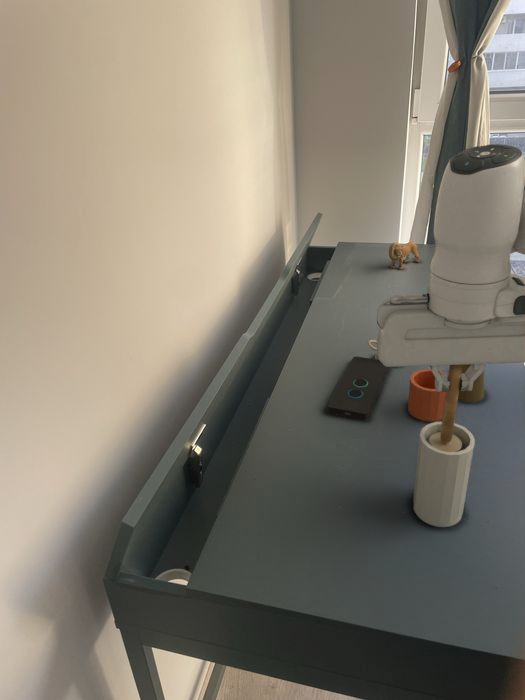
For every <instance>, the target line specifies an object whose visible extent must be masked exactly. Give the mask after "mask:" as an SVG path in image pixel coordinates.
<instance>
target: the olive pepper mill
mask: <svg viewBox="0 0 525 700" xmlns="http://www.w3.org/2000/svg"><path fill="white" fill-rule="evenodd" d="M470 366H471V364H465V365H463V367H462V374H463V373H465V372H466V371H467V370H468V368H469V367H470ZM484 398H485V370H484V371H483V372H482V373H481V374H480V375H479V377H478V378H477V379H476V380H475V381H474V382H473V388H472V391H460V390H459V395H458V401H461V402H465V403H478V402H480V401H482V400H483V399H484Z"/></svg>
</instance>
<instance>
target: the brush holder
mask: <svg viewBox="0 0 525 700" xmlns="http://www.w3.org/2000/svg"><path fill="white" fill-rule="evenodd" d="M439 372H440V374H447V373H446V372H443V371H439ZM408 386H409V388H408V400H407V410H408V412H409V414H410V415H411V416H412V417H413V418H415V419H417V420H419V421H423V422H431V423H433V422H440V421H442V419H443V411H444V403H445V395H446V391H443V392H441V391H440V392H437V390H436V388H435V376H434V374H433V373H432V371H431V368H423V369H419V370H416V371H414V372H413V373H412V374H411V375H410V377H409V385H408Z"/></svg>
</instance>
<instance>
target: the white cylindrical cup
mask: <svg viewBox="0 0 525 700" xmlns="http://www.w3.org/2000/svg"><path fill="white" fill-rule="evenodd" d="M441 426H442V421H433V422H431V423H427V424H426V425H425V426H423V427H422V428H421V430H420V433H419V439H418V450H417V459H416V460H417V461H416V470H415V471H416V472H415V481H414V491H413V498H412V499H413V500H412V501H413V503H412V505H413V511H414V513H415V514H416V516H417V517H418V518H419V519H420V520H421V521H422V522H424V523H426V524H428V525H430V526H433V527H437V528H447V527H452V526H454V525H455V526H456V524H458V523H459V522H460V521H461V520H462V519H463V515H464V510H465V509H464V508H465V502H466V496H467V491H468V484H469V479H470V473H471V467H472V461H473V455H474V449H475V443H476V439H475V437H474V435H473V433H472V432H471V431H470V430H468V428H466V427H465V426H462V425H460V424H458V423H455V422H454V429H453V435H455V436H457V437H458V438H459V439H460V440H461V442H462V449H461V451H458V452H446V451H442V450H438V449H436V448H434V447H432V446H431V445H430V444H429V439H430V437H431V436H432V435H433V434H435V433H438V432H441Z"/></svg>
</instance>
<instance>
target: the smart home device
mask: <svg viewBox="0 0 525 700" xmlns="http://www.w3.org/2000/svg"><path fill="white" fill-rule="evenodd" d="M388 371H389V367H386V366H384V365H383V364H382V363H381V362H380V360H377V359H375V358H370V357H362V356H357V355H356V356H353V357H352V359H351V361H350V362H349V364H348V366H347V367H346V369H345V371H344V373H343V375H342V377H341V379H340V380H339V382H338V385H337V386H336V388H335V390H334V392H333V394H332V395H331V397H330V398H329V401H328V403H327V413H328V414H331V415H336V416H341V417H345V418H350V419H356V420H357V419H358V420H361V421H366V420H368V419H369V417H370V414H371V412H372V410H373V408H374V406H375V403H376V401H377V398H378V395H379V393H380V391H381V389H382V386H383V384H384V381H385V379H386V377H387V374H388Z"/></svg>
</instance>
